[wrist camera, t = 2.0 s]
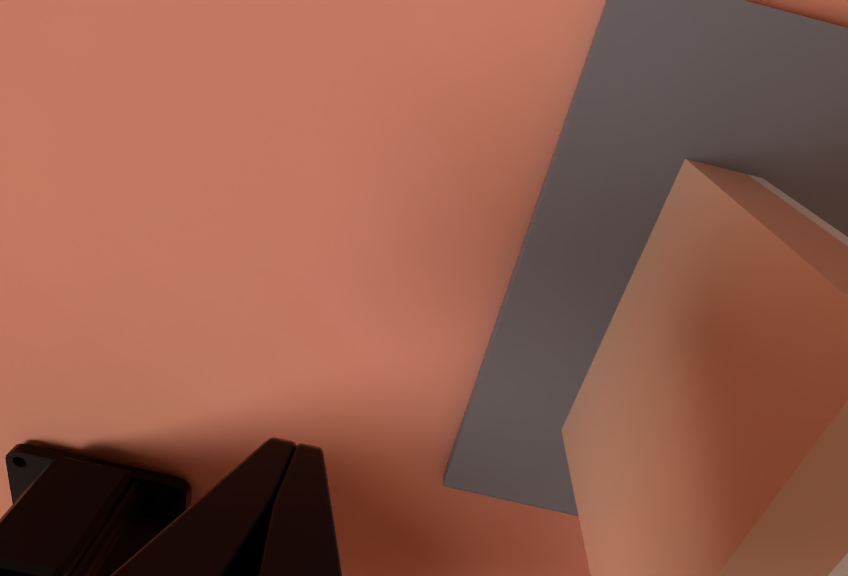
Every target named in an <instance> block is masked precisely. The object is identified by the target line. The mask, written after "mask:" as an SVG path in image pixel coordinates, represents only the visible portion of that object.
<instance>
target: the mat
mask: <svg viewBox="0 0 848 576" xmlns="http://www.w3.org/2000/svg"><path fill="white" fill-rule="evenodd" d="M685 159H689V160H693V161H697V162H701V163H705V164H709V165H713V166H717V167H721V168H725V169H729V170H733V171H737V172H741V173H744V174H748V175H752V176H756V177H760V178H763V179H765V180H766V181H768V182H769V183H770V184H772V185H773V186H775V187H776V188H778V189H779V190H781V191H782V192H783V193H785V194H786V195H788V196H789V197H791V198H792V199H794V200H795V201H796V202H798V203H799V204H801V205H802V206H804V207H805V208H807V209H808V210H809V211H811V212H812V213H814V214H815V215H817V216H818V217H820V218H821V219H822V220H824V221H825V222H827V223H828V224H830V225H831V226H833V227H834V228H835V229H837V230H838V231H840V232H841V233H843V234H844V235H846V236H847V237H848V28H847V27H843V26H839V25H836V24H832V23H828V22H825V21H821V20H817V19H813V18H810V17H806V16H802V15H798V14H795V13H791V12H787V11H783V10H780V9H776V8H772V7H768V6H765V5H761V4H757V3H753V2H750V1H746V0H607V1H606V3H605V6H604V9H603V12H602V15H601V18H600V21H599V24H598V27H597V30H596V33H595V36H594V38H593V41H592V44H591V47H590V50H589V53H588V56H587V59H586V62H585V65H584V68H583V70H582V73H581V76H580V79H579V82H578V85H577V88H576V91H575V94H574V97H573V100H572V103H571V105H570V108H569V111H568V114H567V117H566V120H565V123H564V126H563V129H562V132H561V135H560V137H559V140H558V143H557V146H556V149H555V152H554V155H553V158H552V161H551V164H550V167H549V170H548V172H547V175H546V178H545V181H544V184H543V187H542V190H541V193H540V196H539V199H538V202H537V204H536V207H535V210H534V213H533V216H532V219H531V222H530V225H529V228H528V231H527V234H526V237H525V239H524V242H523V245H522V248H521V251H520V254H519V257H518V260H517V263H516V266H515V269H514V272H513V274H512V277H511V280H510V283H509V286H508V289H507V292H506V295H505V298H504V301H503V304H502V306H501V309H500V312H499V315H498V318H497V321H496V324H495V327H494V330H493V333H492V336H491V339H490V341H489V344H488V347H487V350H486V353H485V356H484V359H483V362H482V365H481V368H480V371H479V373H478V376H477V379H476V382H475V385H474V388H473V391H472V394H471V397H470V400H469V403H468V406H467V408H466V411H465V414H464V417H463V420H462V423H461V426H460V429H459V432H458V435H457V438H456V440H455V443H454V446H453V449H452V452H451V455H450V458H449V461H448V464H447V467H446V470H445V473H444V478H443V486H446V487H450V488H455V489H459V490H464V491H468V492H473V493H477V494H482V495H486V496H491V497H495V498H500V499H504V500H509V501H513V502H518V503H522V504H527V505H531V506H536V507H540V508H545V509H549V510H554V511H558V512H563V513H568V514H572V515H577V516H578V511H577V506H576V501H575V496H574V491H573V486H572V481H571V476H570V471H569V466H568V461H567V456H566V451H565V446H564V441H563V436H562V431H561V430H562V427H563V425H564V423H565V421H566V419H567V416H568V414H569V412H570V410H571V408H572V406H573V403H574V401H575V399H576V397H577V395H578V392H579V390H580V388H581V386H582V384H583V381H584V379H585V377H586V375H587V373H588V370H589V368H590V366H591V364H592V362H593V359H594V357H595V355H596V353H597V351H598V349H599V346H600V344H601V342H602V340H603V338H604V335H605V333H606V331H607V329H608V327H609V324H610V322H611V320H612V318H613V316H614V313H615V311H616V309H617V307H618V305H619V302H620V300H621V298H622V296H623V294H624V291H625V289H626V287H627V285H628V283H629V281H630V278H631V276H632V274H633V272H634V270H635V267H636V265H637V263H638V261H639V259H640V256H641V254H642V252H643V250H644V248H645V245H646V243H647V241H648V239H649V237H650V234H651V232H652V230H653V228H654V226H655V224H656V221H657V219H658V217H659V215H660V213H661V210H662V208H663V206H664V204H665V202H666V199H667V197H668V195H669V193H670V191H671V188H672V186H673V184H674V182H675V180H676V177H677V175H678V173H679V171H680V169H681V166H682V164H683V162H684V160H685Z"/></svg>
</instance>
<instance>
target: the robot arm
mask: <svg viewBox="0 0 848 576" xmlns="http://www.w3.org/2000/svg"><path fill="white" fill-rule="evenodd" d="M6 465H7V471H8V477H9V484H10V490H11V496H12V502H13V505H12V506H11V507H10V508H9V510H8V511H7V512H6V513H5V514H4V515H3V517H2V518H1V519H0V576H342V573H341V566H340V559H339V553H338V546H337V540H336V533H335V526H334V520H333V513H332V507H331V500H330V494H329V487H328V480H327V474H326V467H325V461H324V454H323V451H322V449H321V448H319V447H315V446H311V445H306V444H301V443H300V444H298V445H297V446H296V444H295V443H294V442H292V441H288V440H284V439H279V438H270V439H268V440H267V441H266V442H265V443H264V444H262V445H261V446H260V447H259V448H258V449H257V450H255V451H254V452H253V453H252V454H251V455H250V456H248V457H247V458H246V459H245V460H244V461H243V462H242V463H240V464H239V465H238V466H237V467H236V468H235V469H233V470H232V471H231V472H230V473H229V474H228V475H226V476H225V477H224V478H223V479H222V480H221V481H219V482H218V483H217V484H216V485H215V486H214V487H213V488H211V489H210V490H209V491H208V492H207V493H206V494H204V495H203V496H202V497H201V498H200V499H199V500H197V501H196V502H195V503H194V504H193V505H192V506H190V499H191V487H190V485H189V484H188V482H187V481H185V480H184V479H182V478H179V477H175V476H170V475H166V474H161V473H157V472H152V471H147V470H143V469H138V468H134V467H129V466H124V465H120V464H115V463H111V462H106V461H101V460H97V459H92V458H88V457H83V456H78V455H74V454H69V453H65V452H60V451H55V450H51V449H46V448H42V447H37V446H32V445H28V444H18V445H16V446H15V447H14V448H13V449H12V450H11V451H10V452H9V453H8V454H7V455H6Z"/></svg>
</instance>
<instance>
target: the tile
mask: <svg viewBox="0 0 848 576" xmlns="http://www.w3.org/2000/svg"><path fill="white" fill-rule="evenodd" d="M561 431H562V436H563V441H564V446H565V451H566V456H567V461H568V466H569V471H570V476H571V481H572V486H573V491H574V496H575V501H576V506H577V511H578V516H579V521H580V526H581V531H582V536H583V541H584V546H585V551H586V556H587V561H588V566H589V571H590V576H848V237H847V236H846V235H844V234H843V233H841V232H840V231H838V230H837V229H835V228H834V227H833V226H831V225H830V224H828V223H827V222H825V221H824V220H822V219H821V218H820V217H818V216H817V215H815V214H814V213H812V212H811V211H809V210H808V209H807V208H805V207H804V206H802V205H801V204H799V203H798V202H796V201H795V200H794V199H792V198H791V197H789V196H788V195H786V194H785V193H783V192H782V191H781V190H779V189H778V188H776V187H775V186H773V185H772V184H770V183H769V182H768V181H766V180H765V179H763V178H760V177H756V176H752V175H748V174H744V173H741V172H737V171H733V170H729V169H725V168H721V167H717V166H713V165H709V164H705V163H701V162H697V161H693V160H689V159H685V160H684V162H683V164H682V166H681V169H680V171H679V173H678V175H677V177H676V180H675V182H674V184H673V186H672V188H671V191H670V193H669V195H668V197H667V199H666V202H665V204H664V206H663V208H662V210H661V213H660V215H659V217H658V219H657V221H656V224H655V226H654V228H653V230H652V232H651V234H650V237H649V239H648V241H647V243H646V245H645V248H644V250H643V252H642V254H641V256H640V259H639V261H638V263H637V265H636V267H635V270H634V272H633V274H632V276H631V278H630V281H629V283H628V285H627V287H626V289H625V291H624V294H623V296H622V298H621V300H620V302H619V305H618V307H617V309H616V311H615V313H614V316H613V318H612V320H611V322H610V324H609V327H608V329H607V331H606V333H605V335H604V338H603V340H602V342H601V344H600V346H599V349H598V351H597V353H596V355H595V357H594V359H593V362H592V364H591V366H590V368H589V370H588V373H587V375H586V377H585V379H584V381H583V384H582V386H581V388H580V390H579V392H578V395H577V397H576V399H575V401H574V403H573V406H572V408H571V410H570V412H569V414H568V416H567V419H566V421H565V423H564V425H563V427H562V430H561Z"/></svg>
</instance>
